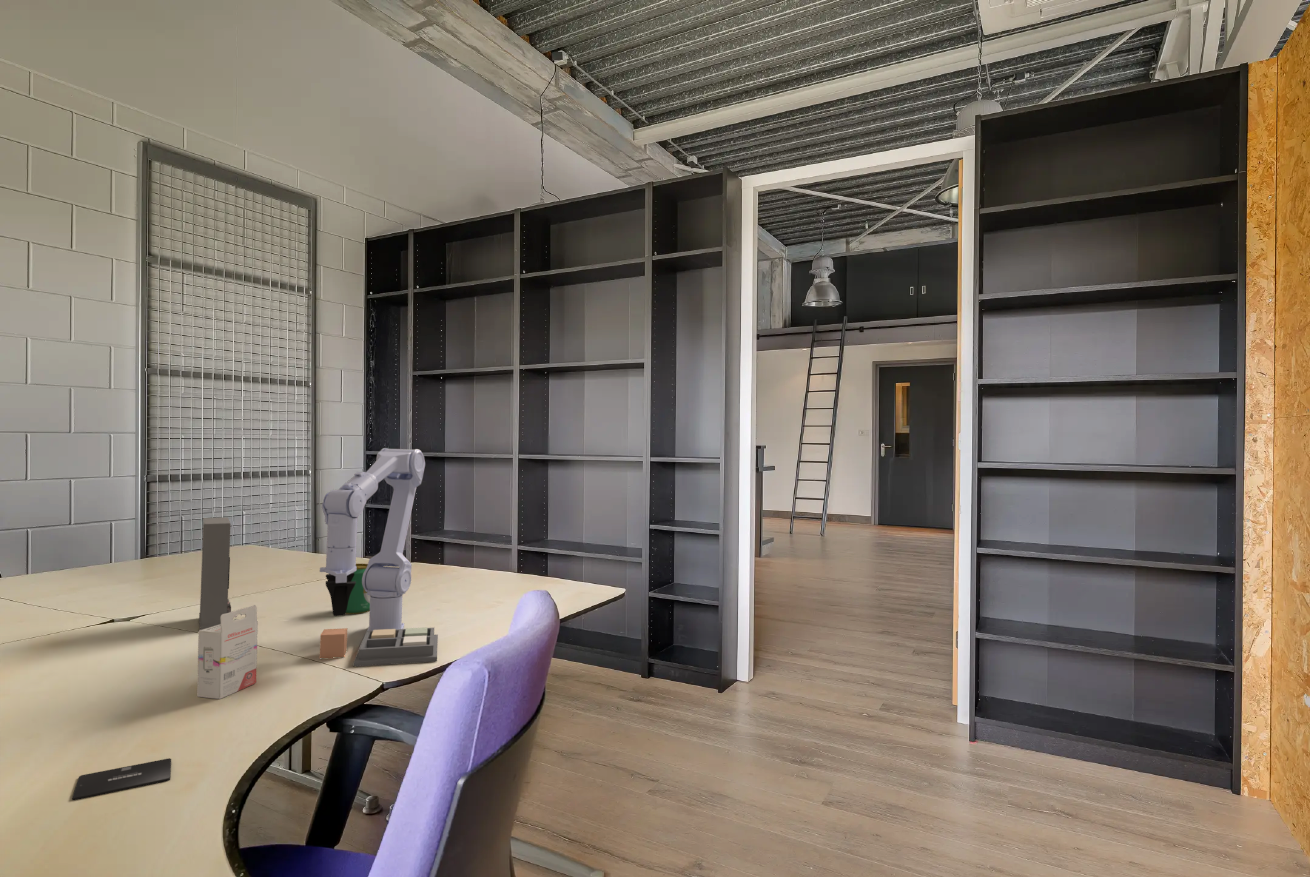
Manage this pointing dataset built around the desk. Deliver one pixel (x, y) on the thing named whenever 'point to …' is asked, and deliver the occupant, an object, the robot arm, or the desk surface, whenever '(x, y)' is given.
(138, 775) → the solid state drive
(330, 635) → the terracotta block
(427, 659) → the frame board
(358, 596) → the beverage can
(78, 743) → the desk surface
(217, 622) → the tall grey upright panel
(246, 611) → the ink cartridge box
